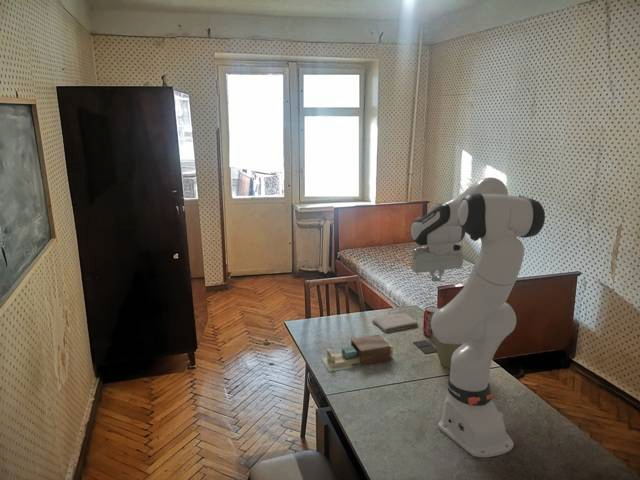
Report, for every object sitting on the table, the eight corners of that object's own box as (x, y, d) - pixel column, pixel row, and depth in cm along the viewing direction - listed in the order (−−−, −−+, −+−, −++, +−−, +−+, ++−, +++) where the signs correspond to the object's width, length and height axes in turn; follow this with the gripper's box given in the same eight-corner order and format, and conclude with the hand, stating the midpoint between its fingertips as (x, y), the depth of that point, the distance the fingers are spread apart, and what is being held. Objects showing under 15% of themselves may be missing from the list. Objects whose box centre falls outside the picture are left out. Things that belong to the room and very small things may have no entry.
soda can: (441, 338, 196) (442, 312, 193) (424, 338, 196) (425, 312, 193) (437, 331, 203) (438, 305, 200) (421, 331, 203) (422, 305, 200)
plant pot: (448, 350, 186) (450, 314, 182) (478, 366, 174) (482, 327, 170) (421, 361, 178) (423, 323, 174) (451, 378, 166) (454, 338, 162)
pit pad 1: (431, 345, 190) (431, 344, 190) (418, 347, 188) (418, 347, 188) (425, 340, 194) (425, 339, 194) (413, 342, 193) (413, 342, 192)
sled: (392, 356, 180) (392, 346, 179) (332, 367, 173) (332, 356, 172) (385, 349, 186) (386, 339, 185) (327, 359, 179) (327, 349, 178)
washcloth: (419, 327, 208) (419, 320, 207) (385, 334, 201) (385, 327, 201) (405, 317, 219) (405, 311, 218) (371, 323, 212) (372, 317, 211)
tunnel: (389, 361, 178) (390, 346, 176) (361, 366, 174) (361, 351, 173) (378, 349, 187) (378, 334, 186) (351, 353, 184) (351, 338, 182)
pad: (352, 367, 174) (352, 367, 174) (329, 371, 171) (329, 371, 171) (343, 355, 183) (343, 354, 183) (321, 358, 180) (321, 358, 180)
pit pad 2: (438, 351, 185) (438, 350, 185) (425, 353, 183) (425, 353, 183) (432, 346, 189) (432, 345, 189) (419, 348, 187) (419, 348, 187)
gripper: (417, 250, 165) (415, 286, 168) (466, 245, 171) (464, 280, 174) (409, 246, 171) (407, 281, 174) (456, 241, 177) (454, 275, 180)
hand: (436, 281), depth 174 cm, fingers closed
